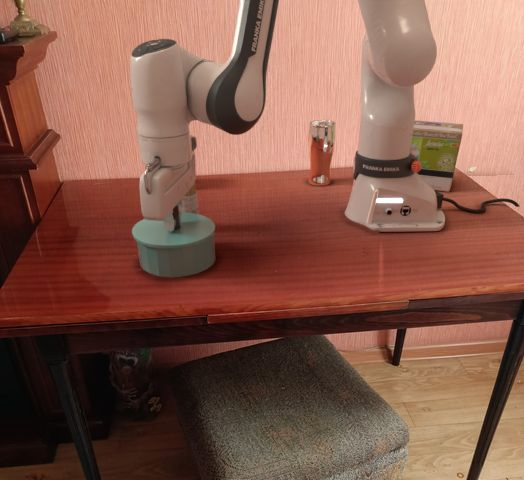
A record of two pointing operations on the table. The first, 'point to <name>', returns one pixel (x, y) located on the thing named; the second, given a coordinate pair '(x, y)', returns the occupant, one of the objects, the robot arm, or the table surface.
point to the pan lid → (174, 231)
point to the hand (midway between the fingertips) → (173, 225)
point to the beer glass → (321, 151)
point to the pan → (177, 259)
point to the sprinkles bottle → (191, 201)
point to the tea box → (436, 151)
